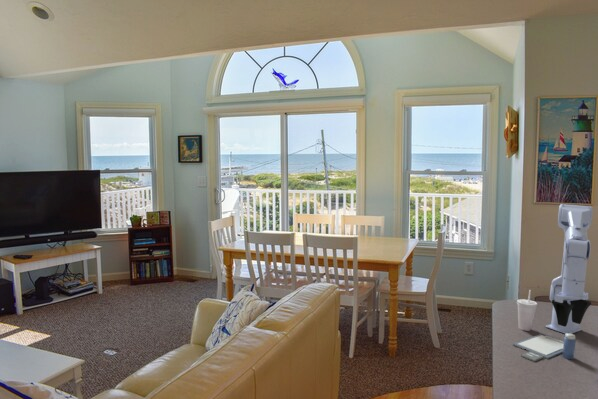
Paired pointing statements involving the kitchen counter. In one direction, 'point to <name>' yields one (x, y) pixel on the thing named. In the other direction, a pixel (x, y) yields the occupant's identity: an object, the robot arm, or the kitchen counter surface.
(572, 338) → the blue bottle
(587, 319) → the kitchen counter surface
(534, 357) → the word card
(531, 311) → the smoothie
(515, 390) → the kitchen counter surface
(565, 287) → the robot arm
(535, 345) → the clipboard
